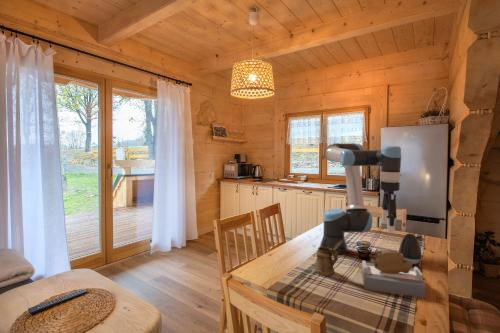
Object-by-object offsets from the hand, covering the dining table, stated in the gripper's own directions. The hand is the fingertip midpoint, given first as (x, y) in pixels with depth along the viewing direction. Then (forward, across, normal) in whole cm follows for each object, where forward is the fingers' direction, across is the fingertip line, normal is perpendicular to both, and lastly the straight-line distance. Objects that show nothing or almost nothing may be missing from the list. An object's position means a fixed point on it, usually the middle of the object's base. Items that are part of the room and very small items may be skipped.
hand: (387, 228), depth 117 cm
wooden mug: (+24, -3, +25) cm, 35 cm away
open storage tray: (+23, -5, -1) cm, 24 cm away
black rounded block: (+24, +23, -15) cm, 36 cm away
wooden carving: (+18, -5, -1) cm, 19 cm away
